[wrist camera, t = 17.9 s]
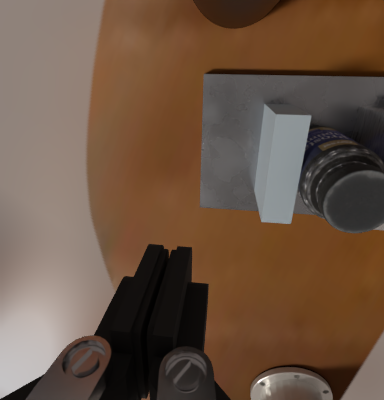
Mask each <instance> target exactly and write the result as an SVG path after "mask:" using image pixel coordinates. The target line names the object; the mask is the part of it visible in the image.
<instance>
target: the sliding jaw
mask: <svg viewBox="0 0 384 400" xmlns="http://www.w3.org/2000/svg"><path fill="white" fill-rule="evenodd" d="M311 116H312V115H310V114H308V113H306V112H304V111H302V110H301V109H299V108H297V107H295V106H293V105H290V104H264V113H263V121H262V130H261V138H260V146H259V155H258V163H257V171H256V180H255V188H254V191H255V196H256V200H257V205H258V209H259V214H260V218H261V222H272V223H286V224H291V220H292V215H293V210H294V205H295V199H296V194H297V189H298V184H299V178H300V173H301V168H302V163H303V158H304V152H305V147H306V142H307V137H308V131H309V126H310V121H311Z"/></svg>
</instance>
